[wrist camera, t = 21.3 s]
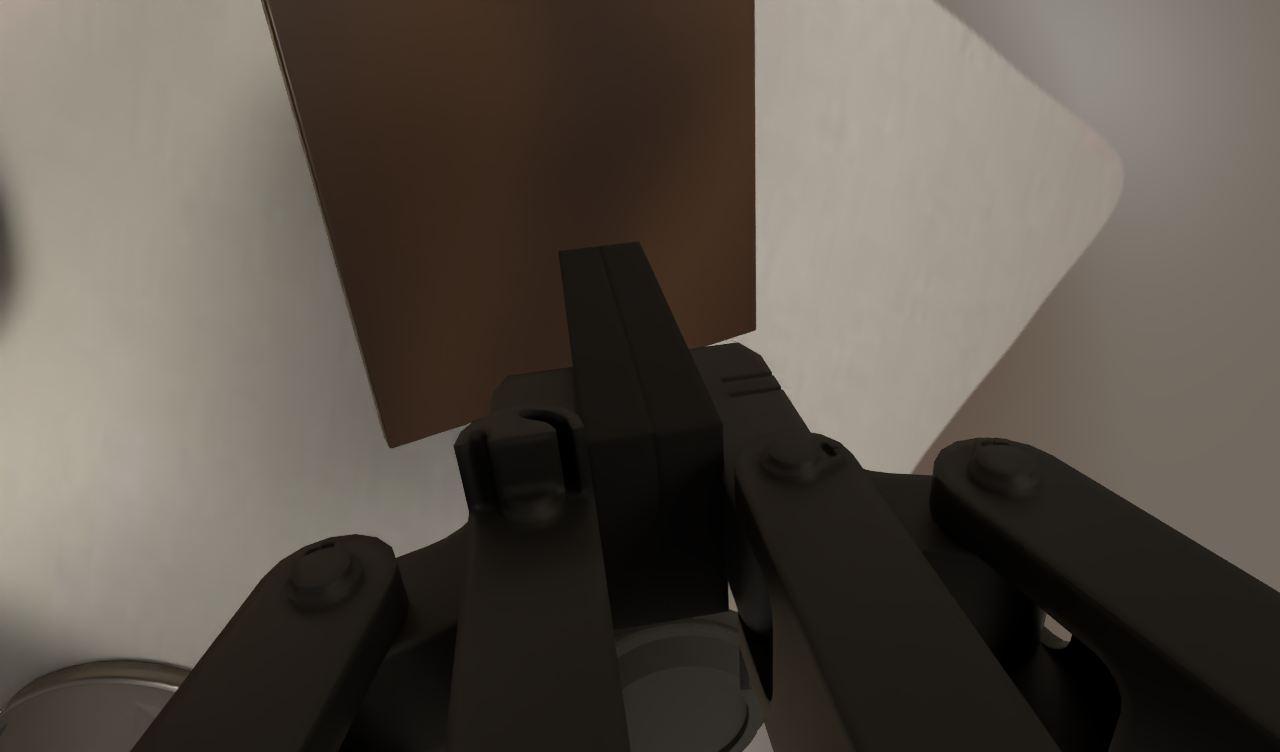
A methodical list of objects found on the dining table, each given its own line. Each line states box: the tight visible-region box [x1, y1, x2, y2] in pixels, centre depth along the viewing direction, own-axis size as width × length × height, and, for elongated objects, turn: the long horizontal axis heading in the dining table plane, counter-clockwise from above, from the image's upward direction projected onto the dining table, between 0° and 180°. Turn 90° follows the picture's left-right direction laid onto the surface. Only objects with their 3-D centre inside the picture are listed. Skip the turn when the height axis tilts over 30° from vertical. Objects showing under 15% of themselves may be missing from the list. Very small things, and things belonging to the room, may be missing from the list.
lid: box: [261, 0, 756, 448], centre depth 23 cm, size 14×13×1 cm
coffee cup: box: [614, 583, 764, 752], centre depth 36 cm, size 9×9×15 cm
